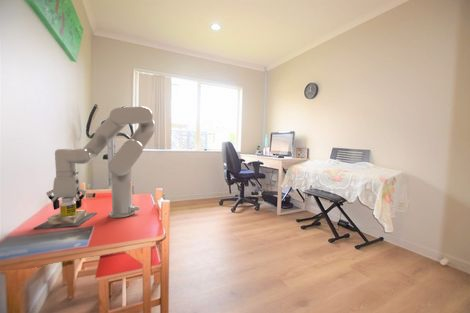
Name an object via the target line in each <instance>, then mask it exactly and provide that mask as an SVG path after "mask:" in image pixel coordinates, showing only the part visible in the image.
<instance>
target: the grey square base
mask: <svg viewBox="0 0 470 313" xmlns="http://www.w3.org/2000/svg"><path fill="white" fill-rule="evenodd" d="M97 214H98V212H87V209H76V214H75V215H73V216H63V217H61V212H60V211H59V212H57V213H55V214H54V215H51V216H48V218H47V220H46V221H44V222H43V223H41V224H39V225H36V226H35V227H33V230H45V229H46V230H47V229H62V228H78V227H80V226H81V225H83V224H84V223H86V222H87V221H89V220H90V219H92V218H93V217H94V216H96V215H97Z"/></svg>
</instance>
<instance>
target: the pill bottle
mask: <svg viewBox="0 0 470 313" xmlns="http://www.w3.org/2000/svg"><path fill="white" fill-rule="evenodd" d="M74 200H75V198H74V197H65V198H61V203H59V205H60V208H59V209H60V210H59V212H61V217H63V216H73V215H75V214H76V210H77V209H76V200H75V201H74Z"/></svg>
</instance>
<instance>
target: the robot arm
mask: <svg viewBox="0 0 470 313" xmlns="http://www.w3.org/2000/svg"><path fill="white" fill-rule="evenodd" d="M153 115H154V114H153V111H152V110H151V109H150V108H149V107H146V106H126V107H125V106H124V107H123V106H122V107H116V108H113V109H112V110H111V111H110V113H109V115H108V117H106V119H105V121H103V123H101V124H100V125H99V126H98V127H97V128H96V130H95V131H94V134H93V137H92V138H91V139H90V140H89V141H88V143H87V144H85V146H84V147H83V148H76V149H72V148H58V149H56V150H55V151H54V160H55V177H54V179H53V185H52V188H53V189H51V190H49V191H47V192H46V193H45V194H46V196H47V197H48V199H49V200H51V202H52V208H53V210H54V211H55V210H58V209H60V200H59V199H60V198H61V199H62V198H65V197H74V200H75V202H76V210H79V209H80V208H81V207H82V204H83V203H82V200H83V199H84V197H85V196H86V195H87V192H88V190H85V189H83V188H81V182H80V178H79V176H78V175H79V171H77V168H76V164H78V165H79V164H80V165H81V164H82V165H83V164H88V163H90V162H92V161H94V159H96V158H97V157H98V156H99V155H100V154H101V153H102V152H103V150H104V149H105V148H106V147H107V146H108V145H109V144H110V143H111V142H112V141H113V140H114V138H115V137H117V135H118V134H119V133H120V132H121V131H122V130H123V129H124V128H125V127H126V125H137V124H138V127H137V128H136V130H135V131H134V133H133V134H132V135H131V137H130V138H129V139H128V140H127V141H125V142H124V143H123V144H122V145H121V147H119V149H118V151H117V152H116V153H115V154H114V156H112V159H111V160H110V161H109V163H108V171H109V173H110V176H111V177H110V180H111V181H110V182H111V183H110V185H111V186H110V187H111V212H109V213H108V217H109V218H114V219H119V218H125V217H126V218H127V217H130V216H132V215H133V216H134V214H136V212H137V211H139V212H140V211H141V207H140V206H139V205H138V206H137V205H136V206H135V205H134V203H133V201H132V200H133V196H132V195H133V194H132V191H133V190H132V168H133V166H134V165H135V164H136V162H137V160H139V158H140V157H141V155H142V154H143V150H144V148H145V147H146V146H147V145H148V143H149V141H150V140H151V139H152V137H153V135H154V132H155V129H156V124H155V120H154V118H153V117H154V116H153Z"/></svg>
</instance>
